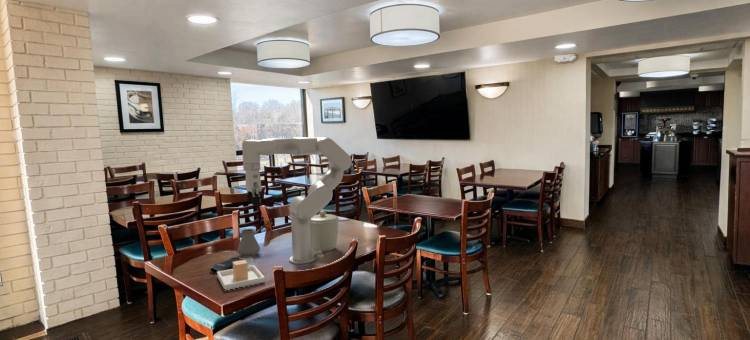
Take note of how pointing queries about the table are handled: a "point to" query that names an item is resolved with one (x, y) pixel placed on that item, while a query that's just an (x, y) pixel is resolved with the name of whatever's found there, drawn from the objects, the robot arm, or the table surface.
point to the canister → (324, 231)
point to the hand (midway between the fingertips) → (253, 203)
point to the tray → (230, 283)
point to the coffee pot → (249, 242)
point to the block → (240, 270)
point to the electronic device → (225, 264)
